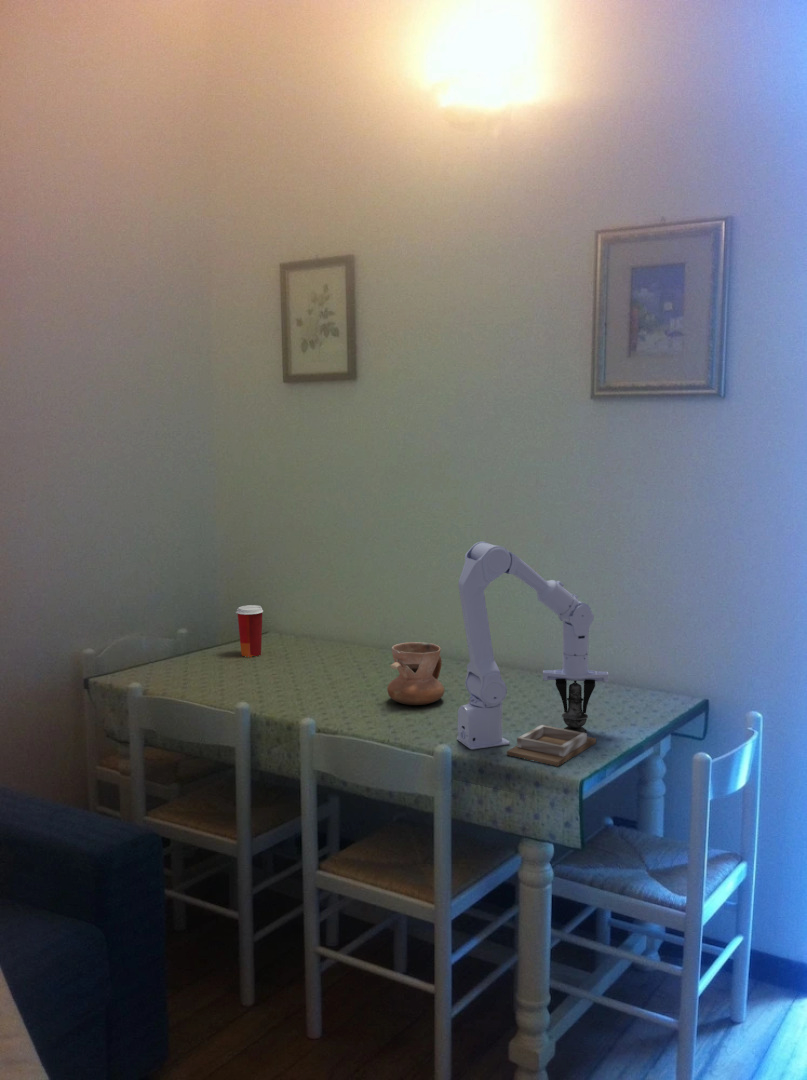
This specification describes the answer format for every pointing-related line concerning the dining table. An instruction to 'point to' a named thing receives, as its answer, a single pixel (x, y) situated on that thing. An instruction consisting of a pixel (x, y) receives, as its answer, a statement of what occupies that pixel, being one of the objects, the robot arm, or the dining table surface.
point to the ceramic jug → (416, 673)
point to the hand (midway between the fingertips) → (575, 711)
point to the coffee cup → (250, 629)
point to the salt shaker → (575, 709)
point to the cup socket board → (551, 745)
